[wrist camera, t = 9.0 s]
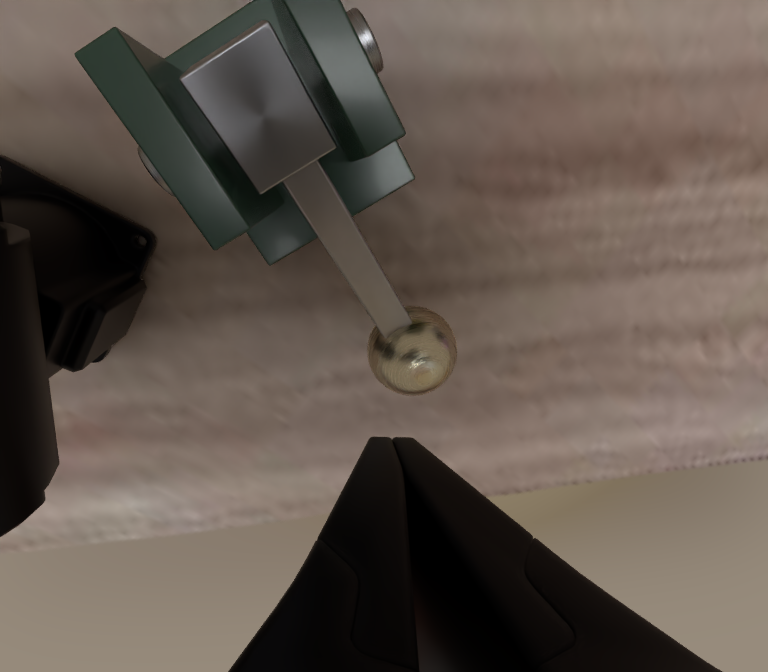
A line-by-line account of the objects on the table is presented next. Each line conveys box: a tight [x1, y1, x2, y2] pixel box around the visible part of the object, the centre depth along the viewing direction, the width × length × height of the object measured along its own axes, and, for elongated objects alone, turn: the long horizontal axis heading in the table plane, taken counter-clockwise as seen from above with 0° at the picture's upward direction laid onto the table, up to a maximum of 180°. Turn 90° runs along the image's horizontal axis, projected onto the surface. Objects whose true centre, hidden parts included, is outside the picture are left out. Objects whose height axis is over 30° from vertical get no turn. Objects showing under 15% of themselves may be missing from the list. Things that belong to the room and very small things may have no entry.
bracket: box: [75, 0, 415, 266], centre depth 14 cm, size 8×7×10 cm
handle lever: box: [179, 20, 457, 396], centre depth 14 cm, size 12×3×3 cm, turn 29°
